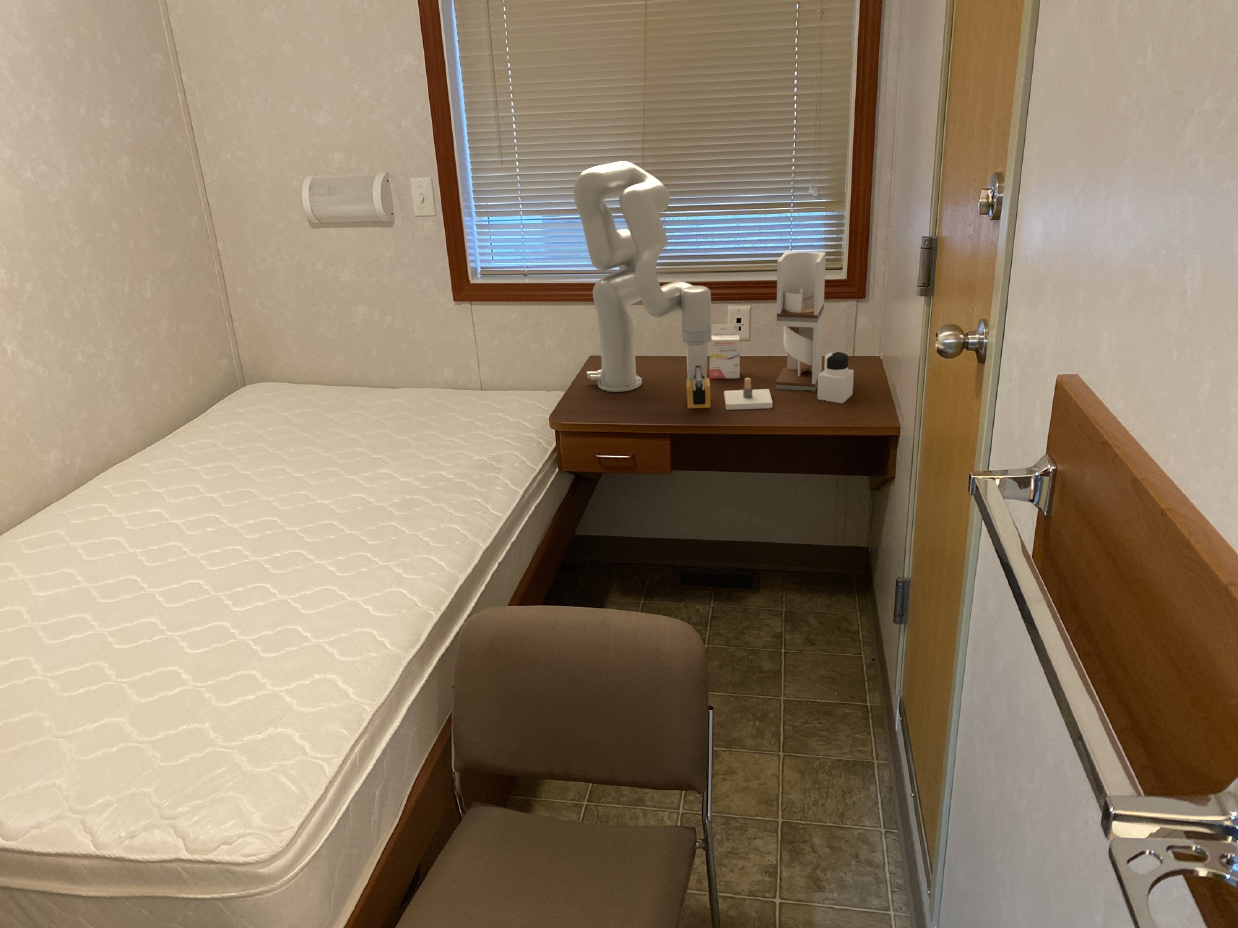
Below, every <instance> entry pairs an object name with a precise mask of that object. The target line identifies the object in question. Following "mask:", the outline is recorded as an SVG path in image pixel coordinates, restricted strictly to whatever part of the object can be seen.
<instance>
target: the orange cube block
mask: <svg viewBox="0 0 1238 928" xmlns="http://www.w3.org/2000/svg"><path fill="white" fill-rule="evenodd" d="M710 382H711V381H710V377H706V380H704V389H705V401H706V403H705V404H700V405H694V404H693V390H694V383H693V380H690V381H689V380H688V378H687V379H686V400H687V409H704V408H705V409H706V408H707V409H709V408H711V383H710ZM696 383H697V382H695V384H696ZM701 383H702V381H701Z"/></svg>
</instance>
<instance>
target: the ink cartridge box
mask: <svg viewBox="0 0 1238 928" xmlns="http://www.w3.org/2000/svg"><path fill="white" fill-rule="evenodd" d="M723 328H725V329H723ZM711 329H712V341H711V342H709V380H710V379H740V376H741V374H740V372H741V370H740V368H741V364H740V363H741V362H740V361H741V358H740V357H741V353H740V352H741V350H740V348H741V342H740V341H741V340H740V339H741V337H740V333H739V331H740V330H739V329H740V327H739V323H726V324H723V323H722V324H720V323H719V324H711ZM721 329H723V330H721ZM726 329H727V330H726ZM728 329H729V330H728Z"/></svg>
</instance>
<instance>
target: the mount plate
mask: <svg viewBox="0 0 1238 928" xmlns="http://www.w3.org/2000/svg"><path fill="white" fill-rule="evenodd" d="M723 391H724V392H723V396H724V397H723V398H724V404H725V410H726V411H728V410H729V411H730V410H731V411H733V410H734V411H735V410H755V409H756V410H757V409H772V408H773V400H772V395H771V392H770V389H769V388H766V389H765V388H762V389H761V388H760V389H753V388H752V378H751V377H745V378H744V388H743V389H739V390H736V389H735V390H723Z"/></svg>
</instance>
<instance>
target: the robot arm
mask: <svg viewBox="0 0 1238 928" xmlns="http://www.w3.org/2000/svg"><path fill="white" fill-rule="evenodd" d="M572 191H573V199H574V200H573V201H574V204H575V206H576V210H577V212H578V215H579V217H580V220H581V225H582V228H583V234H584V238H585V242H586V246H587V250H588V255H589V259H590V261H591V264H592V266H593V267H594V268H595V269H596V270H599V271H608V270H612V269H615V268H617V267H618V269H619V271H615V272H613V273H610V274H608V275H605V276H603V277H601V278H600V279H598V280H597V281H596V282H595V283H594V286H593V289H592V299H593V301H594V305H595V309H596V314H597V322H598V331H599V342H600V355H601V356H600V358H601V369H598V370H596V371H590V370H589V371H586V378H587V379H590V381H597V386H598V388H599V389H600V390H602V391H605V390H606V391H605V392H613V393H619V392H620V393H621V392H628V391H633V390H635V389H638V388H639V387H641V385H642V384H643V379H642V378H641V377H640V376H639V375H637V370H636V369H637V367H636V353H635V352H636V351H635V333H634V323H633V319H632V316H631V315H630V312H629V311H628V307H629V306H630V305H633V304H636V303H638V302H641V303H642V305H643V308H644V309H645V311H646V312H647V313H648V314H649V315H650V316H652V317H654V318H655V319H659V318H665V317H668V316H669V315H672V314H675V313H678V312H681V327H682V328H681V329H682V331H681V333H682V343H684V344H685V345H686V368H687V369H686V370H687V372H686V373H687V379H688V380H689V381H690V380H693V383H694V390H693V404H694V405H700V404H705V403H706V401H705V389H704V380H706V378H707V375H708V374H707V373H708V344H710V342H711V341H712V329H711V325H712V297H711V296H712V294H711V290H710V289H709V288H708V287H706V286H704V285H692V284H691V283H688V282H685V281H682V280H677V281H672V282H669V283H667V284H663V285H660V282H659V279H658V275H657V264H658V263H657V262H658V259H659V257H660V256H661V253H662V252H663V250H664V248H665V247H666V246H667V244H668V240H669V239H668V236H667V233H666V231H665V228H664V225H663V223H662V220H661V218H660V213H663V212H664V211H665V210H667V208H668V206H669V204H670V196H669V195H670V194H669V191H668V189H667V188H666V186H665V185H664V184H663V182H661V181H660V180H659V179H657V178H656V177H655V176H653V175H652V174H650V173H648V172H647V171H645V170H644V169H642V168H641V167H639V166H638V165H635V163H632V162H629V161H624V160H620V161H614V162H610V163H605V164H599V165H596V166H593V167H590V168H587V169H585V170H584V171H582V172H581V173H580V174H579V175H578V176H577V178H576V179H575V181H574V185H573V190H572ZM615 197H619V199H618V203H619V204H618V205H619V208H620V211H621V212H622V215H623V218H624V220H625V224H626V226H627V228H619V229H617V228H616V225H615V220H614V215H613V213H612V211H611V210H610V208H609V206H608V205H607V204H606V203H605V202H604V201H605V200H607V199H611V198H615ZM701 381H702V383H701ZM695 382H697V383H696V384H695Z"/></svg>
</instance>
